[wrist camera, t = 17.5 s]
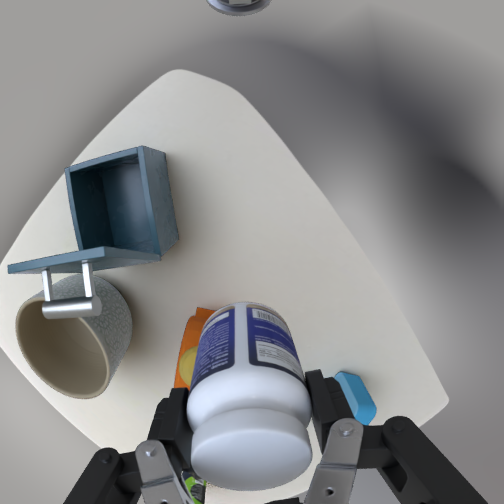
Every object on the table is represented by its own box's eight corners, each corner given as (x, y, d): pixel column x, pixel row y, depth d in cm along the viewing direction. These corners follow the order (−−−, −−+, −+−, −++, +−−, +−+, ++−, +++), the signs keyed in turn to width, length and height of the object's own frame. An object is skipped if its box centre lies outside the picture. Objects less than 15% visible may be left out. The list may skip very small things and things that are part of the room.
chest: (99, 168, 42) (64, 168, 32) (165, 152, 42) (142, 145, 32) (113, 250, 46) (83, 268, 35) (179, 239, 46) (161, 256, 35)
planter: (61, 332, 49) (21, 372, 34) (64, 253, 45) (12, 280, 30) (136, 361, 51) (109, 414, 36) (148, 281, 47) (113, 323, 32)
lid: (7, 265, 20) (14, 323, 20) (103, 245, 20) (113, 317, 20) (81, 266, 35) (86, 307, 34) (160, 254, 35) (166, 299, 34)
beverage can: (179, 467, 59) (171, 512, 45) (202, 466, 59) (197, 513, 44) (187, 478, 61) (181, 522, 46) (209, 478, 60) (206, 522, 46)
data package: (329, 414, 56) (343, 454, 44) (311, 411, 55) (323, 452, 43) (357, 372, 53) (379, 411, 42) (339, 368, 53) (359, 408, 41)
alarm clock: (195, 297, 48) (169, 369, 29) (232, 305, 49) (227, 381, 29) (184, 362, 51) (163, 443, 32) (218, 369, 52) (209, 452, 32)
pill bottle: (212, 378, 19) (200, 500, 10) (191, 306, 18) (151, 426, 8) (295, 365, 19) (327, 485, 10) (284, 290, 18) (324, 405, 8)
